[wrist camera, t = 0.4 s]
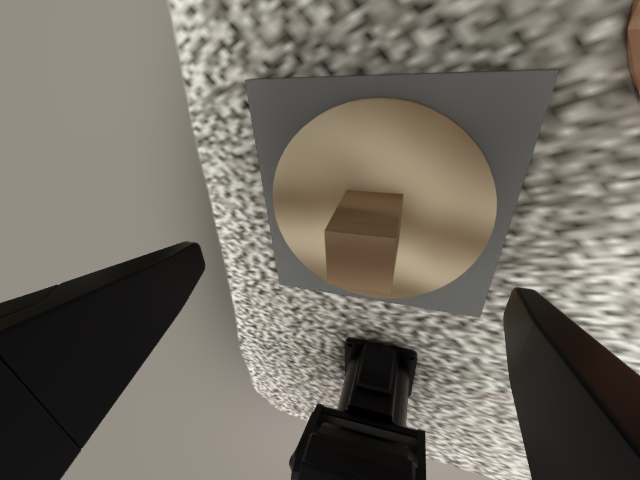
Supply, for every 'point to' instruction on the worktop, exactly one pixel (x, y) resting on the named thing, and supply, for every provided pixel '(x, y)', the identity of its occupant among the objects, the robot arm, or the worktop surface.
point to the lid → (385, 198)
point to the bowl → (634, 44)
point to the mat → (448, 98)
